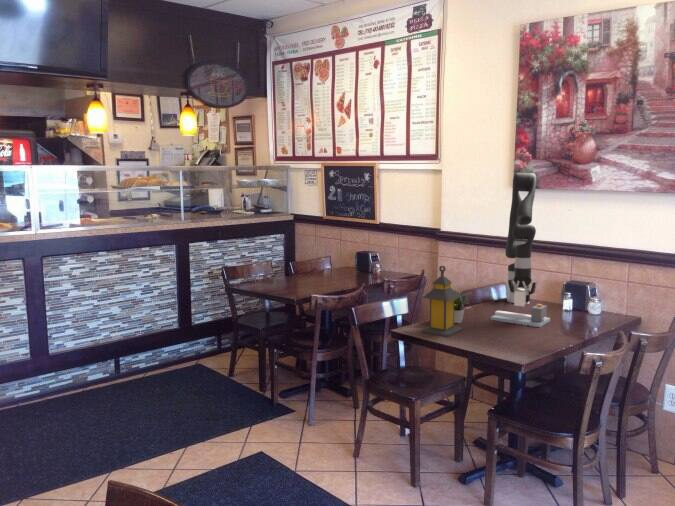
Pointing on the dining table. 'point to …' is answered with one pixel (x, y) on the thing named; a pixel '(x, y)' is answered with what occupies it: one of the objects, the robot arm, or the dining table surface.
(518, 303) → the din module
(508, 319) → the rail board
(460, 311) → the house plant
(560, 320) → the dining table surface
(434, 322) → the lantern
